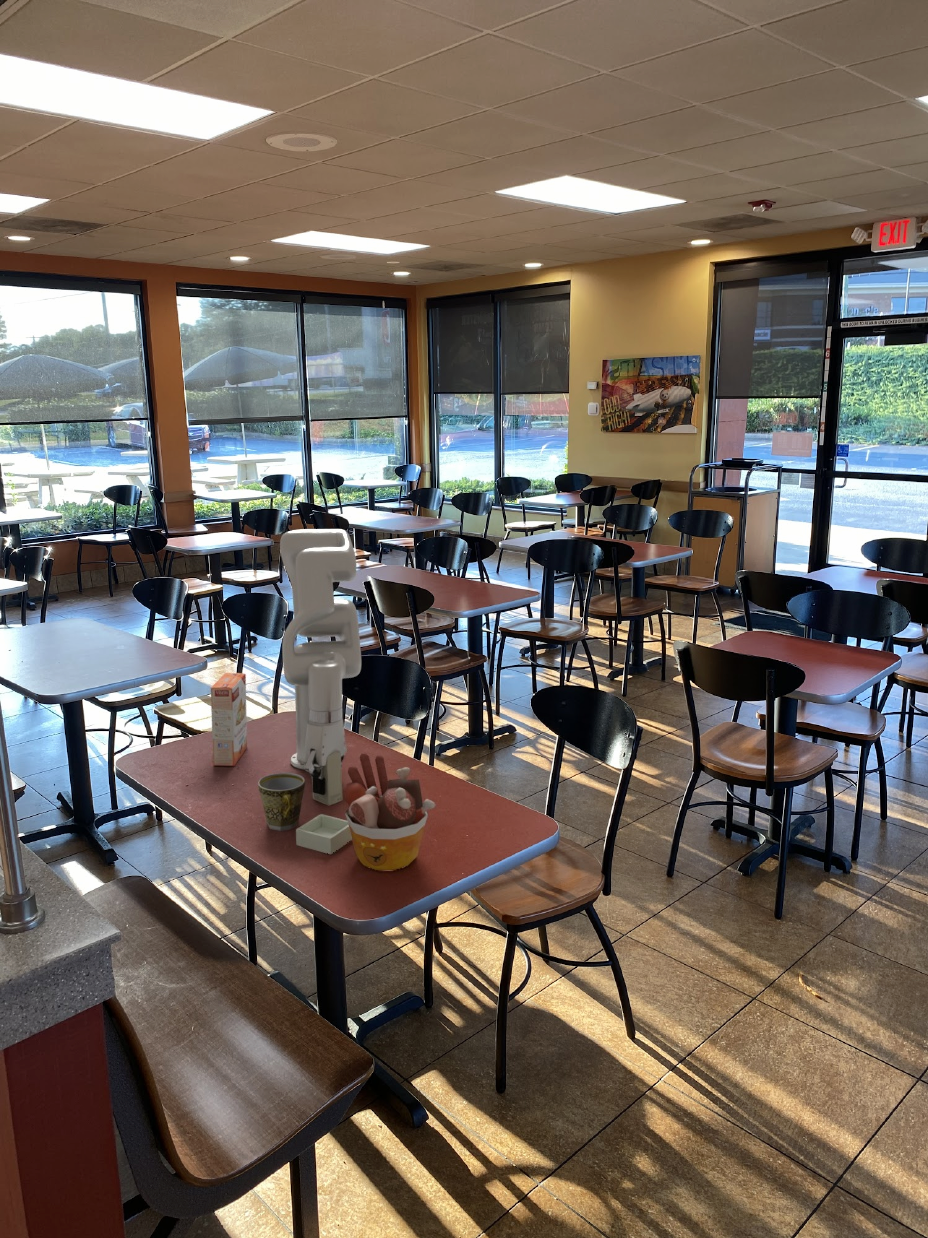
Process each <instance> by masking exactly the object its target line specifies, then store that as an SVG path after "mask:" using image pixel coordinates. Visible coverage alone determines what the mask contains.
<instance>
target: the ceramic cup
mask: <svg viewBox="0 0 928 1238" xmlns="http://www.w3.org/2000/svg"><path fill="white" fill-rule="evenodd" d="M257 785H258V791H259V796H260V799H261V803H262V807H263V811H264V815H265V821H266V824H267V826H268V828H269V829H270V830H273V831H279V832H284V831H288V830H289V829H290V830H293V829H294V828H295V827H296V826H298V825H299V822H300V818H301V811H302V806H303V799H304V793H305V788H306V786H305V785H306V778H305V777H303V776H302V775H300V774H298V773H292V772H278V773H277V772H276V773H271V774H269V775H265V776H263V777H261V778H260V779H259V780H258V782H257Z"/></svg>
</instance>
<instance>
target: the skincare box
mask: <svg viewBox="0 0 928 1238" xmlns="http://www.w3.org/2000/svg"><path fill="white" fill-rule="evenodd" d="M317 764H319V763H318V762H317ZM316 770H317V771H318V772H319V771H320V768H319V767H317V769H316ZM342 775H343V773H342V768H341V751H336V752H335V753H333V754H331V755H329V756H327V763H326V766H325V770H324V776H323V778H325V794H324V795H320V794H316V793H313V781H312V780H311V782H312V783H311V784H312V785H311V787H312V789H311V790H312V799H313V800H315V801H317V802H319V803H321V804H324V805H326V806H331V805H334V804H337V803H340V802H343V777H342Z"/></svg>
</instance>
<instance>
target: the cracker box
mask: <svg viewBox="0 0 928 1238" xmlns="http://www.w3.org/2000/svg"><path fill="white" fill-rule="evenodd" d="M210 704H211V707H210V711H211V733H212V734H211V737H212V738H211V739H212V742H211V743H212V765H213V766H214V767H218V766H219V767H235V766H236V764H237V762H238V761H239V760H240V759H241V757H242V756H243V754H244V753H245V751H246V750H247V748H248V729H247V727H248V723H247V721H248V720H247V716H248V715H247V675H246V673H242V672H241V673H240V672H225V673H224V674H223V675H222V676H220V678H219V679H218V680H217V681H216V682H215V683H214V684H213V685H212V686H211V687H210Z"/></svg>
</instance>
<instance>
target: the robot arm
mask: <svg viewBox="0 0 928 1238" xmlns="http://www.w3.org/2000/svg"><path fill="white" fill-rule="evenodd" d="M279 547H280V555H281V560H282V563H283V567H284V569H285V571H286V573H287V575H288V578H289V581H290V583H291V589H292V592H291V594H292V605H293V606H292V607H293V618H292V619H291V621H290V622H289V624H288V625H287V627H286V629H285V632H284V634H283V636H282V637H283V638H282V645H281V648H282V650H281V651H282V665H283V666H282V668H283V675H284V676H283V677H284V678H285V681H286V682H287V683H288V684H289V685H291V686H294V697H295V700H294V701H295V735H296V736H295V737H296V738H295V739H296V752H295V753H294V754H292V756H291V757H290V764H291V765H292V766H293V767H294V768H296V769H299V770H304V771H305V772H307V773H308V774H309V775H310V777H311V782H312V781H313V791H312V794H313V793H316V794H320V795H324V794H325V778H323V776H324V770H325V766H326V763H327V756H329V755H331V754H333V753H335V752H336V751H341V769H342V767H343V761H344V757H345V755H346V753H347V751H348V747H347V746H346V734H345V725H344V719H343V679H349V678H350V679H351V678H354V677H357V676H358V675H359V674H360V672H361V670H362V651H361V650H362V649H361V639H360V630H359V629H360V627H359V618H358V611H357V609H356V605H355V604H354V602H353V601H352V600H349V599H347V598H336V599H335V597H334V585H333V583H335V582H337V583H339V582H351V581H353V580H354V579H355V577H356V575H357V557H356V553H355V550H354V546H353V543H352V540H351V537H350V534H349V533H348V532H347V531H346V530H345V529H342V528H317V529H316V528H305V529H304V528H301V529H292V530H289V531H286V532H284V533H283V534H282V535H281V538H280V540H279ZM297 636H300V637H303V638H326V637H327V638H329V637H338V638H339V639H340V640H331V641H330V640H328V641H326V640H325V641H324V640H323V641H322V640H321V641H308V642H302V643H299V644H297V645H296V646H295V643H296V642H295V641H296V638H297ZM317 762H318V763H319V764H317ZM317 767H319V768H320V771H319V772H318V771H317V770H316V769H317Z"/></svg>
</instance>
